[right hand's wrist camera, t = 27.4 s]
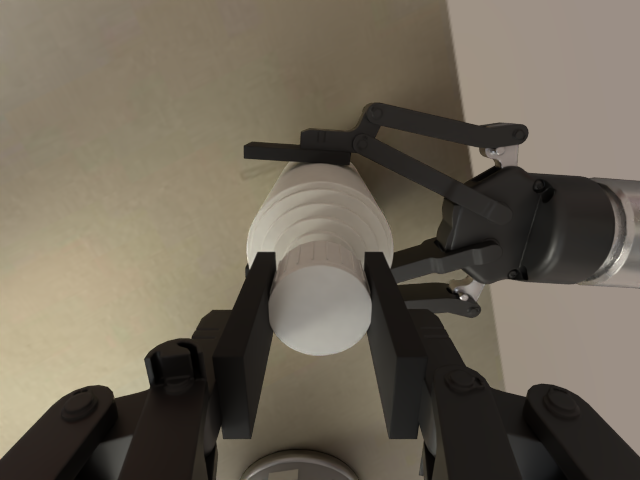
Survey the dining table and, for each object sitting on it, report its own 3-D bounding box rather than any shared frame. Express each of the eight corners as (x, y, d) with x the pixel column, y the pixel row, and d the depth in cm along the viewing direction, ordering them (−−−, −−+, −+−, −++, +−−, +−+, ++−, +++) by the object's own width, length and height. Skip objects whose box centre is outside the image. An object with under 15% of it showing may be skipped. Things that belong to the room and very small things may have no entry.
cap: (260, 253, 14) (249, 280, 12) (352, 227, 14) (359, 251, 12) (290, 329, 16) (285, 366, 13) (375, 308, 15) (385, 343, 13)
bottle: (281, 143, 28) (226, 193, 12) (370, 156, 29) (440, 223, 12) (272, 228, 31) (218, 368, 14) (354, 239, 31) (394, 388, 15)
